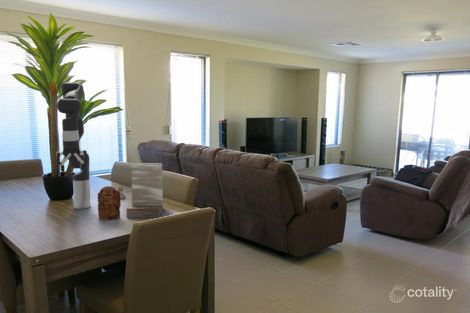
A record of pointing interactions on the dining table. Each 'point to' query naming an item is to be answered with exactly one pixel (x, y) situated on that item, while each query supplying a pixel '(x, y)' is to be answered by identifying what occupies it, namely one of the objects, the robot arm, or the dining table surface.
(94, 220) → the dining table surface
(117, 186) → the ceramic model
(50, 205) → the dining table surface
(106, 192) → the wooden figurine
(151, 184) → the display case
